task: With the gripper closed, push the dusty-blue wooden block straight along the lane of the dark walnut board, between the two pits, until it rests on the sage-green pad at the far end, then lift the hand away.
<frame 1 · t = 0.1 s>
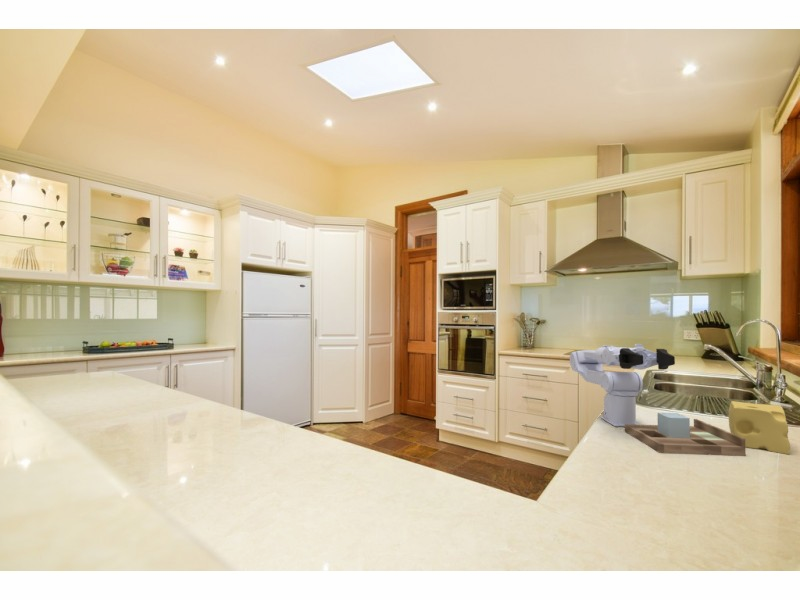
hand: (657, 360, 100), 22 cm above the counter, tool horizontal, fingers open, 7 cm apart
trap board: (676, 442, 102), on the counter
cheese: (757, 445, 101), on the counter
blue block: (673, 434, 102), point 2 cm above the counter, touching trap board
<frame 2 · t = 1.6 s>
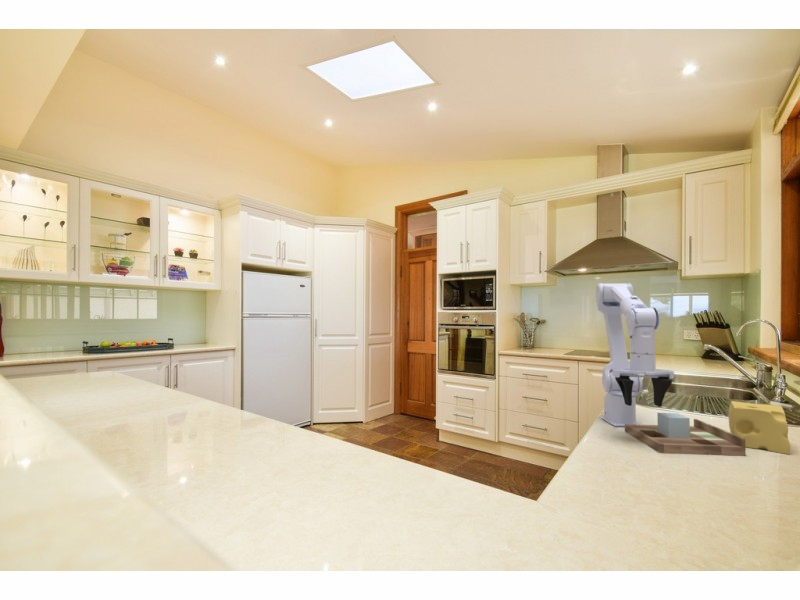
hand: (643, 405, 103), 9 cm above the counter, tool pointing down, fingers open, 7 cm apart
nothing on the counter moved.
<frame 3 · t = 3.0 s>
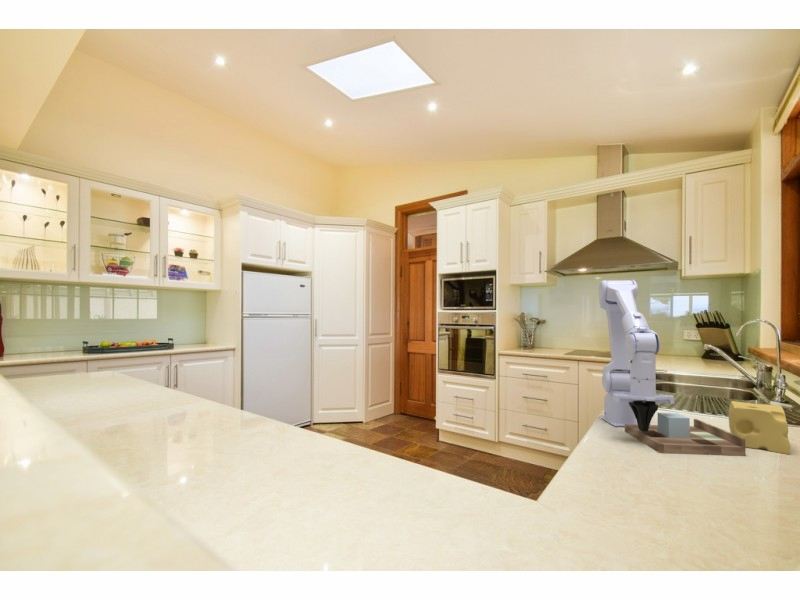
hand: (643, 430, 102), 3 cm above the counter, tool pointing down, fingers closed
nothing on the counter moved.
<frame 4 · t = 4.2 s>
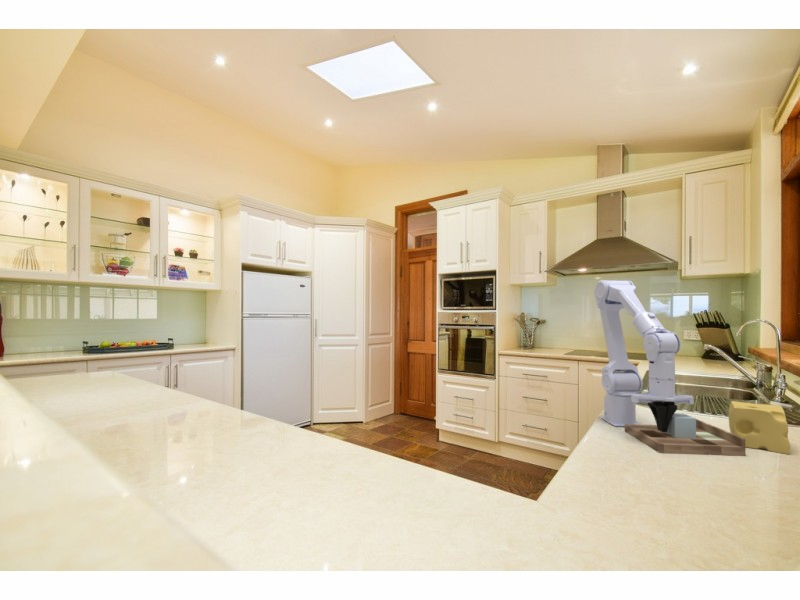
hand: (662, 430, 102), 3 cm above the counter, tool pointing down, fingers closed
blue block: (679, 434, 102), point 2 cm above the counter, touching gripper
everything else where it was.
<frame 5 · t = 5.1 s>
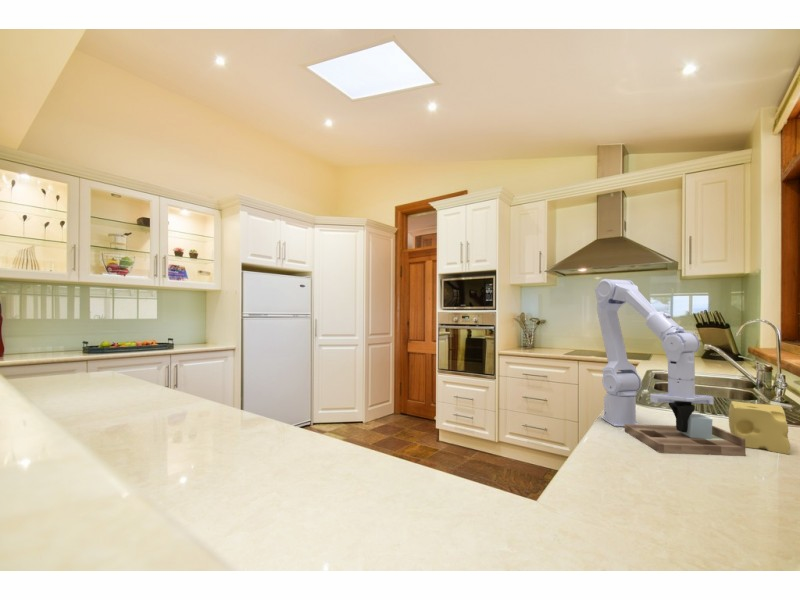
hand: (681, 431, 102), 3 cm above the counter, tool pointing down, fingers closed, pressing on blue block
blue block: (694, 435, 101), point 2 cm above the counter, touching gripper
everything else where it was.
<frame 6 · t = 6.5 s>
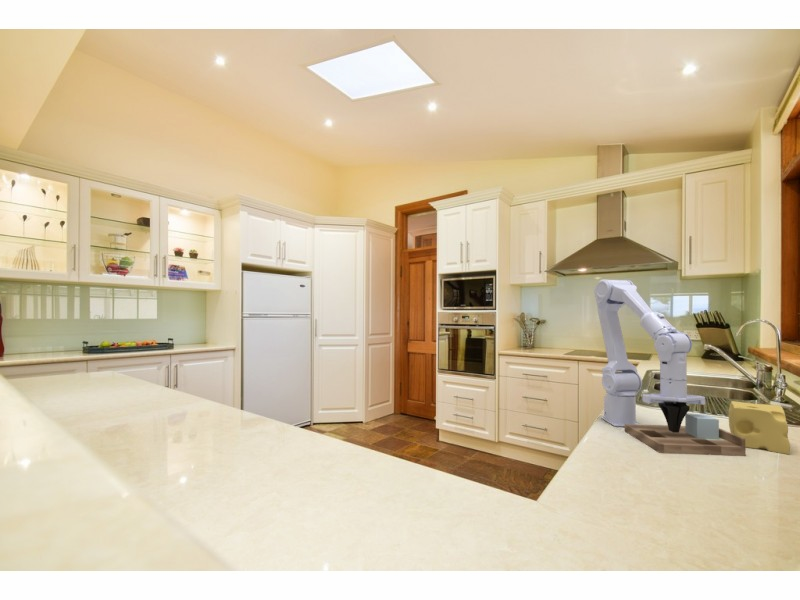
hand: (673, 431, 102), 3 cm above the counter, tool pointing down, fingers closed
blue block: (701, 435, 101), point 2 cm above the counter, touching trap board
everything else where it was.
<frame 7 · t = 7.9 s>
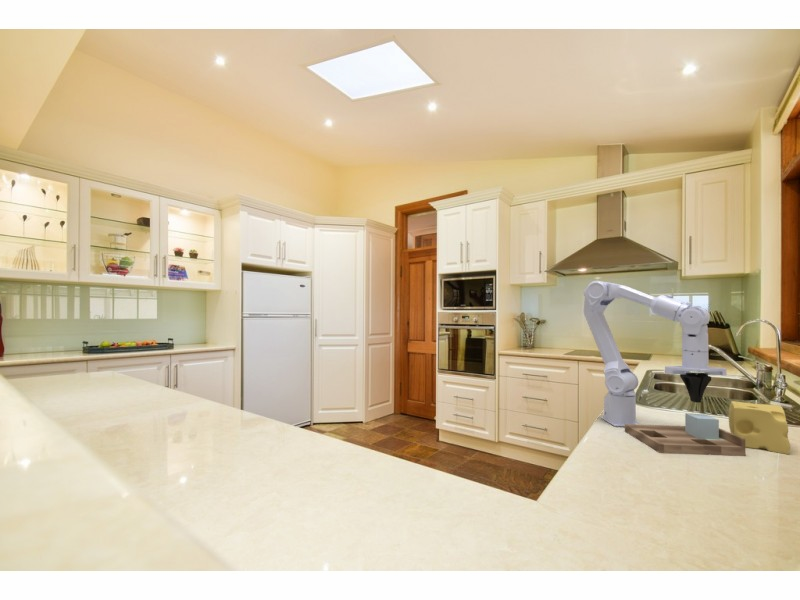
hand: (695, 401, 105), 10 cm above the counter, tool pointing down, fingers closed
nothing on the counter moved.
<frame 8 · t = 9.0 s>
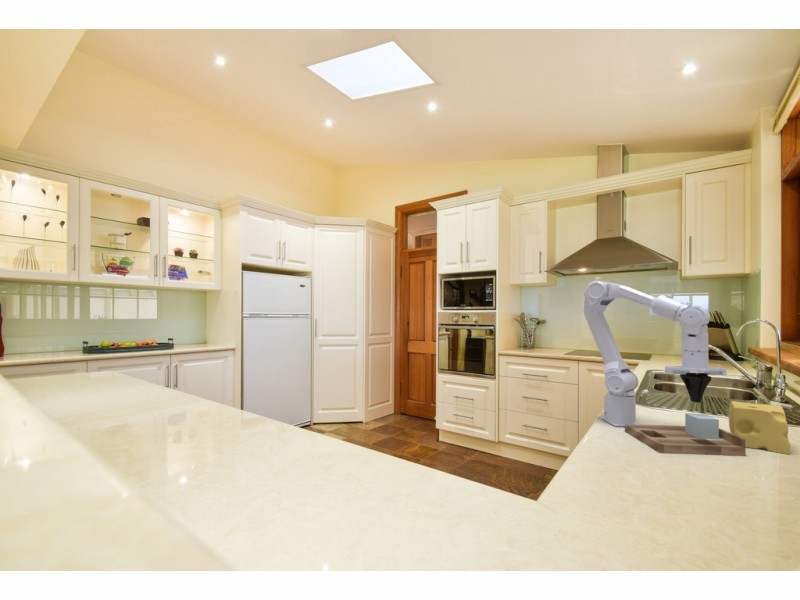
hand: (695, 401, 105), 10 cm above the counter, tool pointing down, fingers closed
nothing on the counter moved.
at the end: blue block 0.2 cm from the target spot on the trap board, point 2.0 cm above the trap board's base; blue block tilted 1° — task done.
